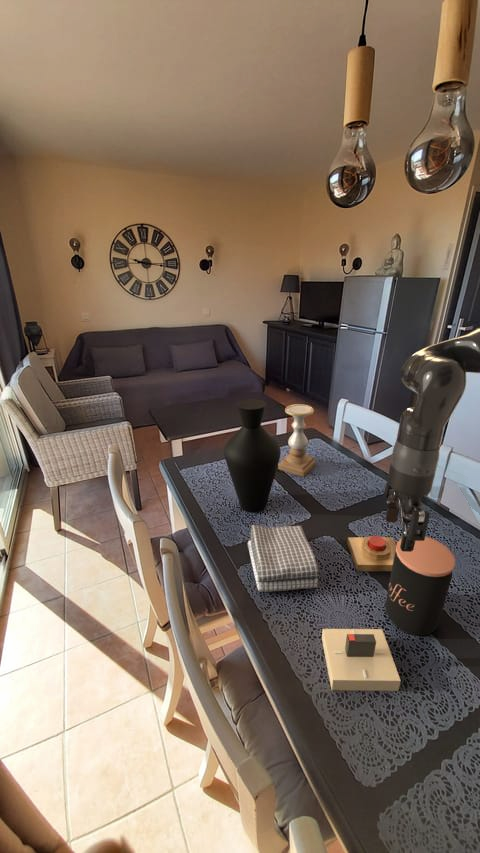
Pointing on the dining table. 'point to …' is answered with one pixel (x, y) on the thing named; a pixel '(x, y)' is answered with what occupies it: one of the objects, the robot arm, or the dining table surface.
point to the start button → (377, 543)
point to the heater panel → (359, 663)
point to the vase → (252, 457)
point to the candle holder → (298, 443)
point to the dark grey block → (360, 645)
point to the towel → (282, 559)
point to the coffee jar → (419, 586)
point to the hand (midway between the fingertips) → (398, 534)
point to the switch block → (371, 554)
